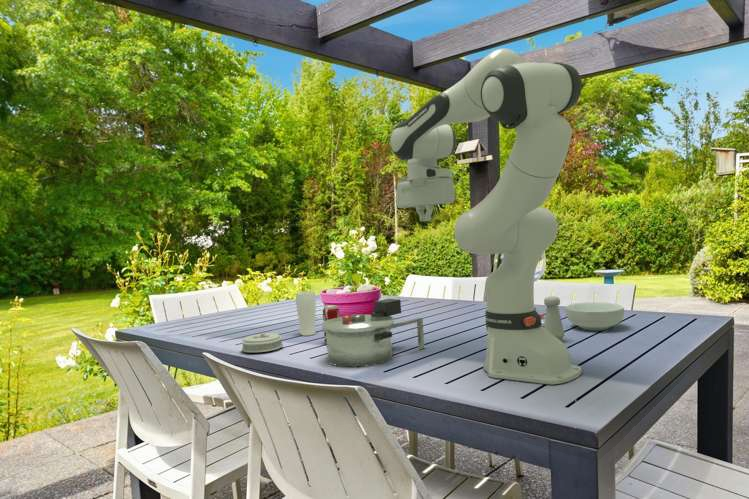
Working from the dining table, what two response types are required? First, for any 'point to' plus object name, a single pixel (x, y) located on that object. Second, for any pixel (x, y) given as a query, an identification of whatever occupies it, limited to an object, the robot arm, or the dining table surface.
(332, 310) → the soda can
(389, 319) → the cooker lid
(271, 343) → the lid
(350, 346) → the cooker pot
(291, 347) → the dining table surface
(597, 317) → the cereal bowl
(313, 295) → the drinking glass
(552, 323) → the salt shaker
